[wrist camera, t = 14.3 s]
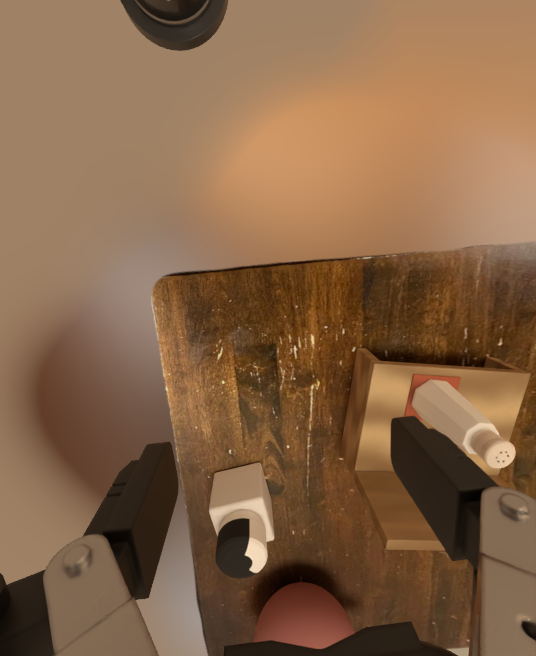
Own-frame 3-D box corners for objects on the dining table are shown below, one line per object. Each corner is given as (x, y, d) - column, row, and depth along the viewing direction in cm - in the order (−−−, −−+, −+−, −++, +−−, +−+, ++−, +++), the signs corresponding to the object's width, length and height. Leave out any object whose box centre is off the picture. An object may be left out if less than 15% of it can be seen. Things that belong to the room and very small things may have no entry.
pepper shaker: (435, 425, 39) (504, 491, 29) (401, 406, 38) (460, 467, 28) (462, 390, 38) (544, 445, 28) (428, 370, 37) (499, 419, 27)
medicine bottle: (226, 510, 48) (219, 593, 37) (213, 472, 46) (202, 547, 35) (271, 499, 48) (278, 579, 37) (260, 460, 46) (264, 532, 35)
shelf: (357, 347, 43) (418, 405, 27) (494, 357, 44) (625, 416, 29) (340, 449, 47) (385, 549, 31) (466, 454, 48) (569, 552, 33)
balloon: (346, 636, 57) (381, 774, 42) (241, 618, 54) (238, 759, 39) (379, 572, 53) (430, 698, 38) (268, 550, 51) (276, 676, 36)
